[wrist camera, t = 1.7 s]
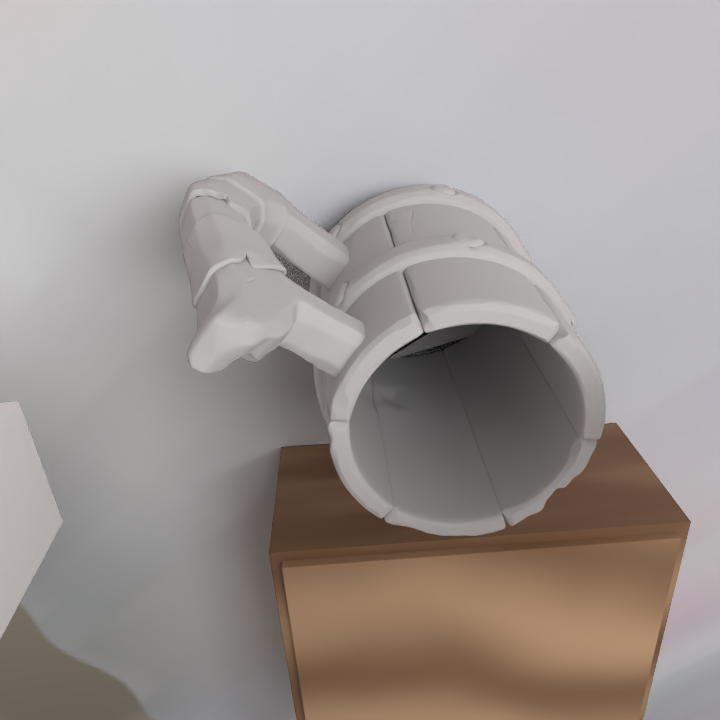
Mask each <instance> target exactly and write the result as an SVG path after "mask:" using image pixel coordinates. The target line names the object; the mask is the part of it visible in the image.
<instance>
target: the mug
mask: <svg viewBox="0 0 720 720" xmlns="http://www.w3.org/2000/svg"><path fill="white" fill-rule="evenodd" d="M179 233H180V237H181V241H182V246H183V250H184V253H183V257H184V261H185V265H186V268H187V271H188V275H189V279H190V285H191V291H192V305H193V306H194V307H195V308H196V309H197V333H196V335H195V337H194V338H193V340H192V342H191V344H190V346H189V349H188V353H187V356H188V361H189V364H190V366H191V368H192V369H194V370H196V371H199V372H201V373H214V372H220V371H222V370H223V369H224V368H226V367H227V366H228V365H229V364H230V363H232V362H233V361H235V360H236V359H238V358H242V359H244V360H247V361H251V362H257V361H259V360H261V359H262V358H263V357H264V356H265V355H266V354H268V353H270V352H271V351H273V350H274V349H276V348H277V347H278V346H280V347H283V348H285V349H288V350H290V351H292V352H294V353H295V354H297V355H299V356H300V357H302V358H303V359H305V360H306V361H307V362H309V363H312V364H313V372H314V383H315V389H316V394H317V398H318V402H319V406H320V409H321V413H322V417H323V419H324V420H325V422H326V423H327V431H328V435H329V439H330V441H331V442H330V453H331V456H332V460H333V463H334V465H335V468H336V470H337V473H338V475H339V477H340V479H341V481H342V482H343V484H344V486H345V487H346V488H347V490H348V491H349V492H350V494H351V495H352V496H353V497H354V498H355V499H356V500H357V501H358V502H359V503H360V504H361V505H362V506H363V507H364V508H365V509H367V510H368V511H369V512H371V513H373V514H374V515H376V516H377V517H379V518H383V517H384V519H385V521H386V522H387V523H390V524H393V525H400V526H406V527H411V528H415V529H418V530H421V531H423V532H426V533H429V534H436V535H441V536H463V535H466V536H477V535H482V534H487V533H493V532H496V531H499V530H502V529H504V528H505V527H506V524H505V520H506V521H507V523H508V524H509V525H510V526H513V525H515V524H517V523H518V522H520V521H522V520H523V519H524V518H526V517H528V516H530V515H532V514H535V513H538V512H540V511H541V510H542V509H543V507H544V505H545V502H546V501H547V499H548V498H549V497H550V496H551V495H552V493H553V492H554V491H555V490H556V489H557V488H564V487H566V486H567V485H568V484H569V483H570V481H571V480H572V479H573V478H574V477H576V476H577V475H579V474H580V473H581V472H582V471H583V470H584V469H585V467H586V465H587V464H588V462H589V459H590V457H591V455H592V453H593V452H594V450H595V448H596V444H597V440H596V439H600V438H601V435H602V432H603V427H604V422H605V395H604V389H603V384H602V380H601V377H600V374H599V371H598V369H597V366H596V364H595V362H594V360H593V358H592V356H591V355H590V353H589V352H588V350H587V348H586V347H585V345H584V344H583V343H582V341H581V340H580V339H579V337H578V336H577V333H576V330H575V328H576V320H575V317H574V315H573V312H572V310H571V308H570V307H569V305H568V304H567V303H566V302H565V301H564V299H563V298H562V296H561V295H560V293H559V292H558V290H557V289H556V288H555V286H554V285H553V284H552V283H551V282H550V280H549V279H548V278H547V277H546V276H545V275H544V274H543V273H542V272H541V271H540V270H539V269H538V268H537V267H536V266H535V265H534V264H532V262H531V257H530V255H529V253H528V251H527V250H526V249H525V247H524V245H523V243H522V241H521V239H520V238H519V236H518V235H517V233H516V232H515V230H514V229H513V228H512V226H511V225H510V224H509V223H508V222H507V220H506V219H505V218H503V217H502V216H501V215H500V214H499V213H498V212H497V211H496V210H495V209H493V208H492V207H491V206H489V205H488V204H486V203H485V202H484V201H482V200H481V199H479V198H477V197H476V196H474V195H472V194H469V193H466V192H464V191H461V190H458V189H454V188H451V187H449V186H446V185H413V186H406V187H401V188H397V189H394V190H390V191H387V192H385V193H382V194H380V195H377V196H375V197H373V198H371V199H369V200H367V201H365V202H364V203H362V204H361V205H359V206H357V207H356V208H355V209H353V210H352V211H351V212H349V213H348V214H347V215H346V216H345V217H344V218H342V219H341V220H340V221H339V222H338V224H337V225H336V226H335V227H333V228H332V229H331V230H330V232H329V233H328V232H327V231H325V230H324V229H322V228H321V227H320V226H318V225H317V224H316V223H314V222H313V221H312V220H310V219H309V218H308V217H307V216H305V215H304V214H303V213H301V212H300V211H299V210H298V209H297V208H295V207H294V206H293V205H292V204H291V203H290V202H289V201H288V200H287V199H286V198H285V197H284V196H283V195H282V194H280V193H279V192H278V191H276V190H274V189H272V188H271V187H269V186H267V185H266V184H264V183H262V182H260V181H259V180H257V179H256V178H254V177H253V176H251V175H249V174H247V173H245V172H233V173H228V174H223V175H218V176H211V177H208V178H207V179H206V180H203V181H198V182H195V183H193V184H192V185H191V186H190V187H189V188H188V191H187V193H186V197H185V199H184V202H183V205H182V208H181V211H180V215H179ZM271 249H272V250H273V251H274V252H276V253H277V254H279V255H280V256H281V257H283V258H284V259H285V260H287V261H288V262H290V263H291V264H293V265H294V266H295V267H297V268H299V269H300V270H301V271H303V272H304V273H305V274H307V275H308V276H309V277H311V279H310V287H309V292H308V291H307V290H305V289H304V288H302V287H300V286H299V285H297V284H296V283H295V282H293V281H292V280H290V279H289V278H287V277H286V273H287V270H286V268H285V267H284V266H283V265H282V264H281V263H280V261H279V260H278V259H277V257H276V256H275V254H274V253H273V251H272V250H271ZM423 332H426V333H428V334H427V335H425V336H423V337H422V338H420V339H419V340H417V341H415V342H414V343H412V344H411V345H409V346H407V347H406V348H404V349H403V350H401V351H399V352H398V353H396V354H395V355H392V354H393V353H394V352H395V351H397V350H398V349H399V348H401V347H402V346H404V345H405V344H407V343H409V342H410V341H412V340H414V339H415V338H417V337H418V336H420V335H421V334H422V333H423ZM429 332H430V333H429ZM462 338H463V339H462ZM458 339H462V340H460V341H459V342H457V343H455V344H453V345H451V346H448V347H446V348H445V349H444V350H443V351H441V350H440V351H436V352H434V353H431V354H427V355H421V356H405V355H409V354H412V353H415V352H419V351H422V350H425V349H429V348H432V347H435V346H439V345H442V344H445V343H448V342H452V341H455V340H458ZM503 516H504V517H503ZM504 518H505V520H504Z"/></svg>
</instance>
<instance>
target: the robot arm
mask: <svg viewBox="0 0 720 720" xmlns="http://www.w3.org/2000/svg"><path fill="white" fill-rule="evenodd" d="M62 523H63V520H62V518H61V515H60V512H59V510H58V507H57V504H56V501H55V499H54V496H53V493H52V491H51V488H50V485H49V483H48V480H47V477H46V474H45V472H44V469H43V466H42V464H41V461H40V458H39V455H38V453H37V450H36V447H35V445H34V442H33V439H32V437H31V434H30V431H29V428H28V426H27V423H26V420H25V418H24V415H23V412H22V409H21V407H20V404H19V401H14V402H0V639H1V637H2V635H3V633H4V631H5V629H6V627H7V625H8V624H9V622H10V620H11V618H12V616H13V614H14V613H15V611H16V609H17V607H18V605H19V603H20V601H21V599H22V598H23V596H24V594H25V592H26V590H27V588H28V586H29V585H30V583H31V581H32V579H33V577H34V575H35V573H36V572H37V570H38V568H39V566H40V564H41V562H42V560H43V558H44V557H45V555H46V553H47V551H48V549H49V547H50V545H51V544H52V542H53V540H54V538H55V536H56V534H57V532H58V531H59V529H60V527H61V525H62Z"/></svg>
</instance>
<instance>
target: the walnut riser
mask: <svg viewBox="0 0 720 720" xmlns="http://www.w3.org/2000/svg"><path fill="white" fill-rule="evenodd" d="M596 440H597V444H596V448H595V450H594V452H593V453H592V455H591V457H590V459H589V462H588V464H587V465H586V467H585V469H584V470H583V471H582V472H581V473H580V474H579V475H577V476H576V477H574V478H573V479H572V480H571V481H570V483H569V484H568V485H567V486H566V487H564V488H557V489H556V490H555V491H554V492H553V493H552V495H551V496H550V497H549V498H548V499H547V501H546V502H545V505H544V507H543V509H542V510H541V511H540V512H538V513H535V514H532V515H530V516H528V517H526V518H524V519H523V520H522V521H520V522H518V523H517V524H515V525H513V526H510V525H509V524H508V523H507V521H506V520H505V518H504V520H505V524H506V527H505V528H504V529H502V530H499V531H496V532H493V533H487V534H482V535H477V536H466V535H463V536H441V535H436V534H429V533H426V532H423V531H421V530H418V529H415V528H411V527H406V526H400V525H393V524H390V523H387V522H386V521H385V519H384V517H383V518H379V517H377V516H376V515H374V514H373V513H371V512H369V511H368V510H367V509H365V508H364V507H363V506H362V505H361V504H360V503H359V502H358V501H357V500H356V499H355V498H354V497H353V496H352V495H351V494H350V492H349V491H348V490H347V488H346V487H345V486H344V484H343V482H342V481H341V479H340V477H339V475H338V473H337V470H336V468H335V465H334V463H333V460H332V456H331V453H330V444H322V445H308V446H294V447H282V449H281V457H280V465H279V474H278V482H277V491H276V499H275V507H274V516H273V524H272V533H271V541H270V549H269V556H270V562H271V568H272V574H273V580H274V586H275V592H276V598H277V604H278V610H279V616H280V622H281V628H282V634H283V640H284V646H285V652H286V658H287V664H288V670H289V676H290V683H291V689H292V695H293V701H294V707H295V713H296V719H297V720H643V717H644V713H645V709H646V705H647V701H648V697H649V692H650V688H651V684H652V680H653V676H654V672H655V668H656V663H657V659H658V655H659V651H660V647H661V643H662V639H663V634H664V630H665V626H666V622H667V618H668V614H669V610H670V605H671V601H672V597H673V593H674V589H675V585H676V581H677V576H678V572H679V568H680V564H681V560H682V556H683V552H684V547H685V543H686V539H687V535H688V531H689V527H690V523H691V521H690V520H689V519H688V517H687V516H686V515H685V513H684V512H683V511H682V509H681V508H680V507H679V505H678V504H677V503H676V502H675V500H674V499H673V498H672V496H671V495H670V494H669V492H668V491H667V490H666V488H665V487H664V486H663V484H662V483H661V482H660V480H659V479H658V478H657V476H656V475H655V474H654V472H653V471H652V470H651V468H650V467H649V466H648V464H647V463H646V462H645V460H644V459H643V458H642V456H641V455H640V454H639V452H638V451H637V450H636V449H635V447H634V446H633V445H632V443H631V442H630V441H629V439H628V438H627V437H626V435H625V434H624V433H623V431H622V430H621V429H620V427H619V426H618V425H617V423H612V424H604V427H603V432H602V435H601V438H600V439H596ZM503 517H504V516H503Z"/></svg>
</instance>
